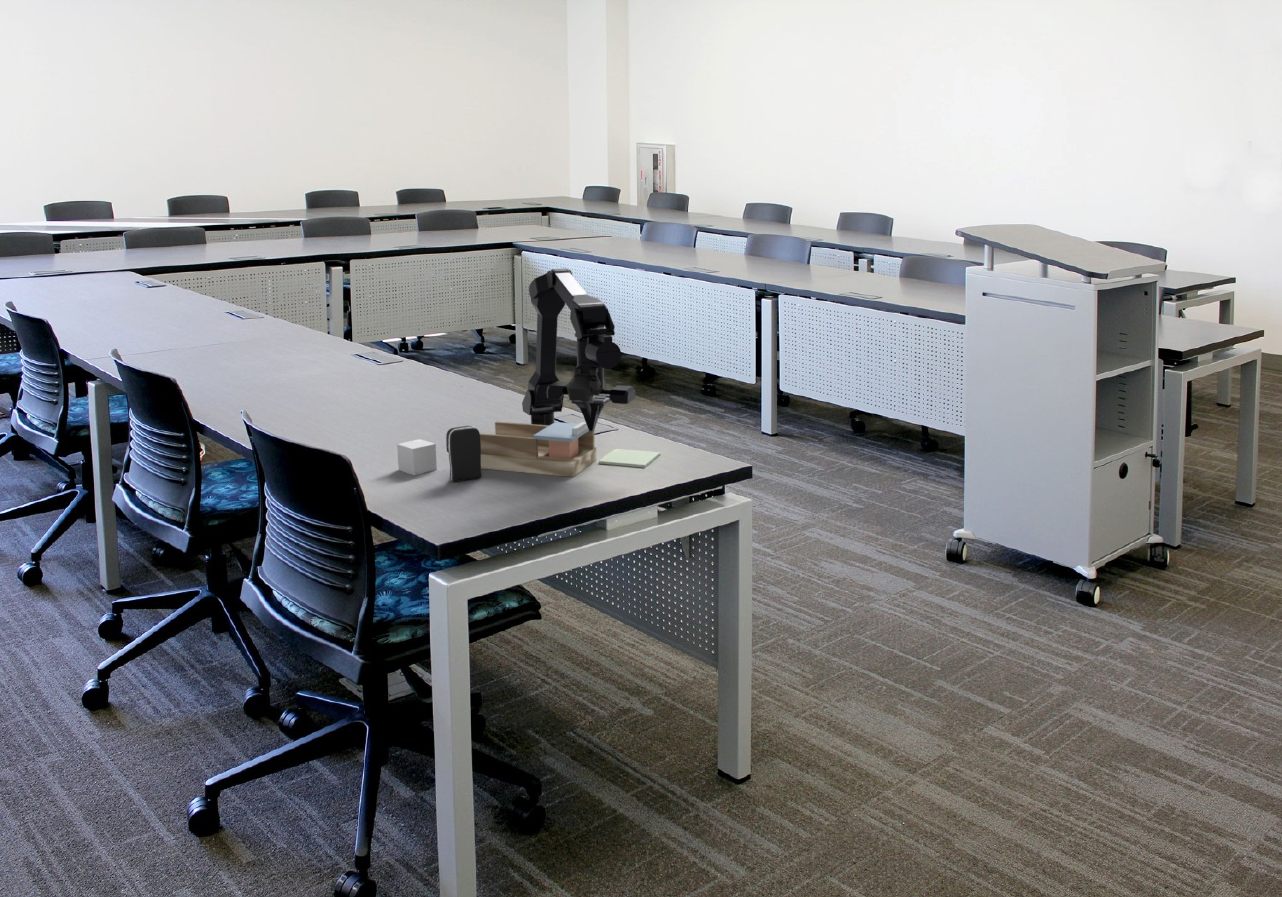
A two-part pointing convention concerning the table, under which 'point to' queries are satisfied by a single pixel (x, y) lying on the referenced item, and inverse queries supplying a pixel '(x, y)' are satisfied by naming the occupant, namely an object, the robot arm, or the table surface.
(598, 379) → the robot arm
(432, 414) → the table surface
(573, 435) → the cover
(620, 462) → the sage mat
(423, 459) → the white cube
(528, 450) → the open storage box
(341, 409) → the table surface
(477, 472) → the battery charger
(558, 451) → the block
